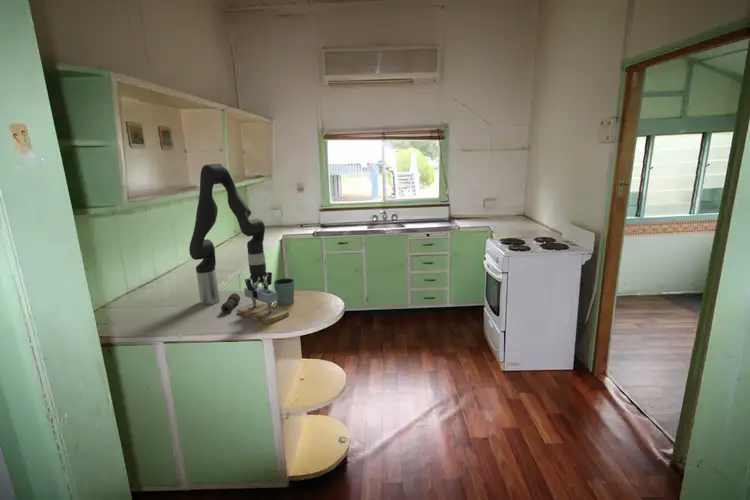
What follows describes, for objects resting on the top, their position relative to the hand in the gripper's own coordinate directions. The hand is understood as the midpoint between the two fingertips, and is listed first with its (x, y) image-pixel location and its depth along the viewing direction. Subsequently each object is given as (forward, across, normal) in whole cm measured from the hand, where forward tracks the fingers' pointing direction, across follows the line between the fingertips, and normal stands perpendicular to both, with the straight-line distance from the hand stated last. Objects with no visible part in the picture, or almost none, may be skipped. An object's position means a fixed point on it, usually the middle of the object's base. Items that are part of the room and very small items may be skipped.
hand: (260, 296), depth 194 cm
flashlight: (+10, +4, -21) cm, 23 cm away
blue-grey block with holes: (+1, 0, 0) cm, 1 cm away
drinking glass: (+10, -16, -2) cm, 19 cm away
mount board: (+9, 0, 0) cm, 9 cm away
